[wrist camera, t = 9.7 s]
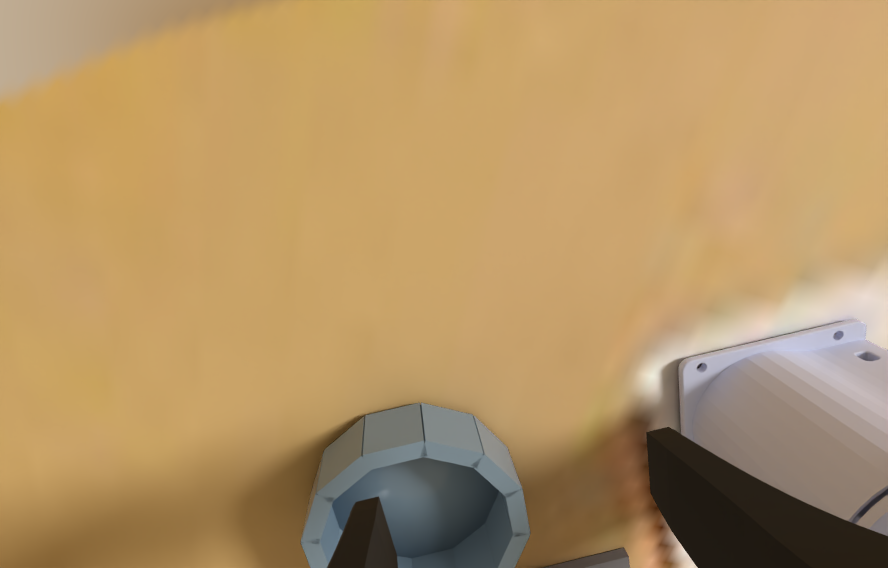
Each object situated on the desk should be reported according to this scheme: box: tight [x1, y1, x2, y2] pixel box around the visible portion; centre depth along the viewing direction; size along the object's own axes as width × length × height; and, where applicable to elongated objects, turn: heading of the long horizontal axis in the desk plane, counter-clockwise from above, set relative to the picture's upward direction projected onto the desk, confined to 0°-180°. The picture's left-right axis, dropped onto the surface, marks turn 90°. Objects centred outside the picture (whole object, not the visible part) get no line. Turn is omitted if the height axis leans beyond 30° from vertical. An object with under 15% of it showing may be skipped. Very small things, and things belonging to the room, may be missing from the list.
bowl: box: [301, 403, 530, 568], centre depth 24 cm, size 10×10×3 cm
